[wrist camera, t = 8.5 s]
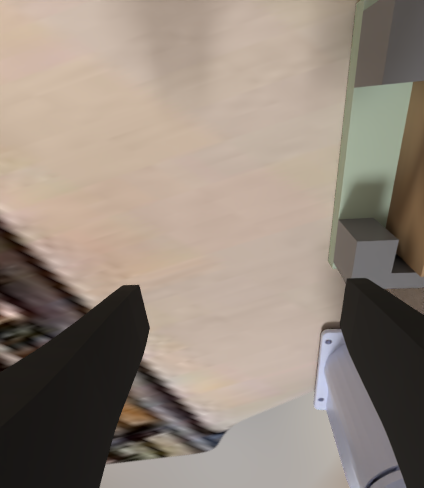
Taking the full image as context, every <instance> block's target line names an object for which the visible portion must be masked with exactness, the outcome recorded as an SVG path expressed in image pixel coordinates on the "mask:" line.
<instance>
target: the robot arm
mask: <svg viewBox="0 0 424 488" xmlns="http://www.w3.org/2000/svg"><path fill="white" fill-rule="evenodd" d="M340 327H341V329H326V330H324V331H323V332H322V333H321V341H320V350H319V359H318V368H317V377H316V385H315V394H314V407H315V408H316V409H318V410H326V411H327V414H328V417H329V421H330V424H331V428H332V431H333V434H334V438H335V442H336V445H337V448H338V452H339V455H340V459H341V462H342V466H343V469H344V472H345V476H346V479H347V482H348V484H349V487H350V488H424V315H423V314H421V313H420V312H418V311H416V310H415V309H413V308H412V307H410V306H409V305H407V304H406V303H404V302H403V301H401V300H400V299H398V298H397V297H395V296H394V295H392V294H391V293H389V292H388V291H386V290H385V289H383V288H382V287H380V286H379V285H377V284H375V283H374V282H372V281H371V280H369V279H367V278H347V280H346V287H345V294H344V300H343V307H342V314H341V321H340ZM149 329H150V327H149V323H148V319H147V315H146V311H145V307H144V303H143V299H142V295H141V291H140V287H139V285H123V286H121V287H120V288H119V289H117V290H116V291H115V292H113V293H112V294H111V295H109V296H108V297H107V298H106V299H104V300H103V301H102V302H101V303H99V304H98V305H97V306H96V307H94V308H93V309H92V310H90V311H89V312H88V313H87V314H85V315H84V316H83V317H82V318H80V319H79V320H78V321H76V322H75V323H74V324H72V325H71V326H70V327H68V328H67V329H65V330H64V331H63V332H61V333H60V334H59V335H57V336H56V337H54V338H53V339H52V340H50V341H49V342H48V343H46V344H45V345H43V346H42V347H40V348H39V349H37V350H36V351H34V352H33V353H31V354H29V355H28V356H26V357H25V358H23V359H22V360H20V361H18V362H17V363H15V364H14V365H12V366H10V367H9V368H7V369H5V370H3V371H2V372H0V488H99V487H100V483H101V479H102V476H103V471H104V468H105V464H106V460H107V457H108V453H109V450H110V446H111V443H112V439H113V436H114V432H115V429H116V426H117V423H118V420H119V417H120V415H121V412H122V409H123V407H124V404H125V402H126V399H127V396H128V394H129V391H130V389H131V386H132V383H133V381H134V378H135V376H136V373H137V370H138V368H139V365H140V362H141V360H142V357H143V354H144V350H145V346H146V342H147V338H148V334H149ZM326 340H328V341H326Z"/></svg>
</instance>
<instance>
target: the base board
mask: <svg viewBox="0 0 424 488" xmlns="http://www.w3.org/2000/svg"><path fill="white" fill-rule="evenodd" d="M377 1H379V0H360V1H359V2H358V3H356V10H355V19H354V28H353V38H352V47H351V56H350V65H349V74H348V83H347V93H346V102H345V111H344V120H343V129H342V138H341V147H340V157H339V166H338V175H337V184H336V193H335V202H334V212H333V221H332V230H331V239H330V248H329V257H328V262H329V264H330V265H331V267H332V269H337V268H336V266H335V264H334V263H333V260H334V252H335V243H336V235H337V227H338V220H339V219H357V218H374V219H375V220H377V221H378V222H379V223H380V224H381V225H382V226H384V227H385V228H386V223H387V218H388V213H389V207H390V202H391V197H392V191H393V186H394V181H395V175H396V170H397V165H398V160H399V154H400V149H401V144H402V138H403V133H404V128H405V123H406V117H407V112H408V107H409V101H410V96H411V91H412V86H413V82H406V83H396V84H386V85H377V86H367V87H357V88H354V84H355V75H356V67H357V58H358V50H359V42H360V33H361V25H362V16H363V11H364V10H366V9H367V8H368V7H370V6H371V5H373V4H374V3H376V2H377Z"/></svg>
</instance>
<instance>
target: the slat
mask: <svg viewBox="0 0 424 488" xmlns="http://www.w3.org/2000/svg"><path fill="white" fill-rule="evenodd" d="M386 229H387V230H388V231H389V232H390V233H392V234H393V235H394V236H395V237H396V238H397V239H399V242H398V246H397V251H396V254H397V255H398V256H399V257H400V258H401V259H402V260H403V261H405V262H406V263H407V264H408V265H409V266H410V267H411V268H412V269H413V270H414V271H415V272H416V273H417V274H418V275H419V276H420V277H424V81H416V82H413V86H412V91H411V96H410V101H409V107H408V112H407V117H406V123H405V128H404V133H403V138H402V144H401V149H400V154H399V160H398V165H397V170H396V175H395V181H394V186H393V191H392V197H391V202H390V207H389V213H388V218H387V223H386Z"/></svg>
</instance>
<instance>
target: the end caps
mask: <svg viewBox="0 0 424 488" xmlns="http://www.w3.org/2000/svg"><path fill="white" fill-rule="evenodd" d="M416 81H424V0H379V1H377V2H376V3H374V4H373V5H371V6H370V7H368V8H367V9H366V10H364V11H363V16H362V25H361V33H360V42H359V50H358V58H357V67H356V75H355V84H354V88H357V87H367V86H377V85H386V84H396V83H406V82H416ZM398 242H399V239H397V238H396V237H395V236H394V235H393V234H392V233H390V232H389V231H388V230H387V229H386V228H385V227H384V226H382V225H381V224H380V223H379V222H378V221H377V220H375V219H374V218H357V219H339V220H338V227H337V235H336V243H335V252H334V260H333V263H334V264H335V266H336V268H337V269H338V271H339V273H340V274H341V276H342V278H343V279H344V281H345V283H346V280H347V278H367V279H369V280H371V281H372V282H374V283H375V284H377V285H379V286H380V287H382V288H383V289H397V288H424V277H420V276H419V275H418V274H417V273H416V272H415V271H414V270H413V269H412V268H411V267H410V266H409V265H408V264H407V263H406V262H405V261H403V260H402V259H401V258H400V257H399V256H398V255H397V254H396V251H397V246H398Z"/></svg>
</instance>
